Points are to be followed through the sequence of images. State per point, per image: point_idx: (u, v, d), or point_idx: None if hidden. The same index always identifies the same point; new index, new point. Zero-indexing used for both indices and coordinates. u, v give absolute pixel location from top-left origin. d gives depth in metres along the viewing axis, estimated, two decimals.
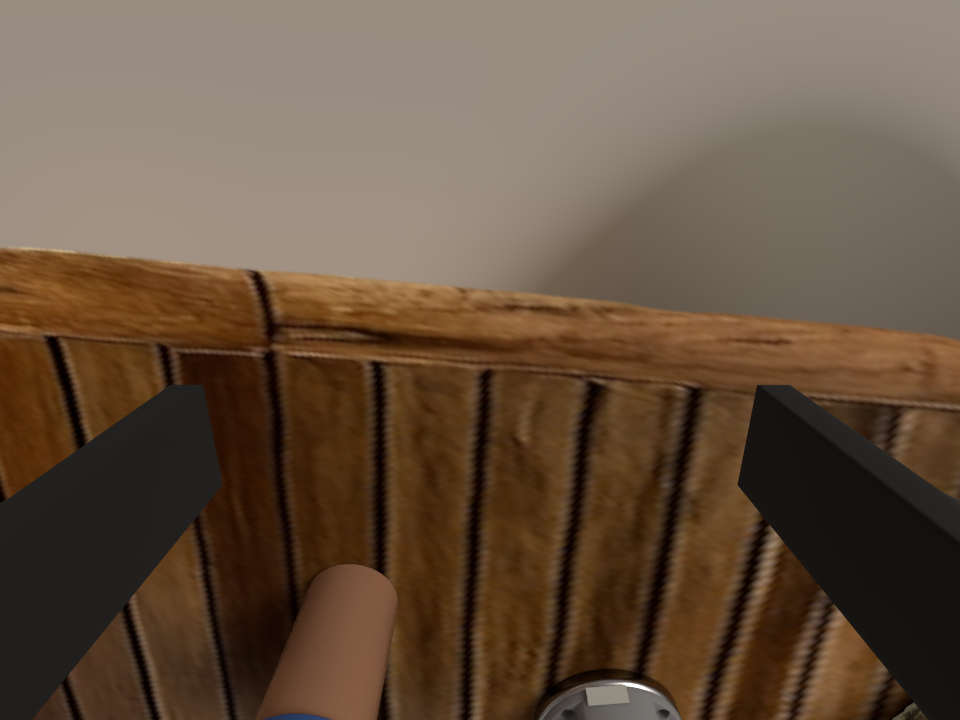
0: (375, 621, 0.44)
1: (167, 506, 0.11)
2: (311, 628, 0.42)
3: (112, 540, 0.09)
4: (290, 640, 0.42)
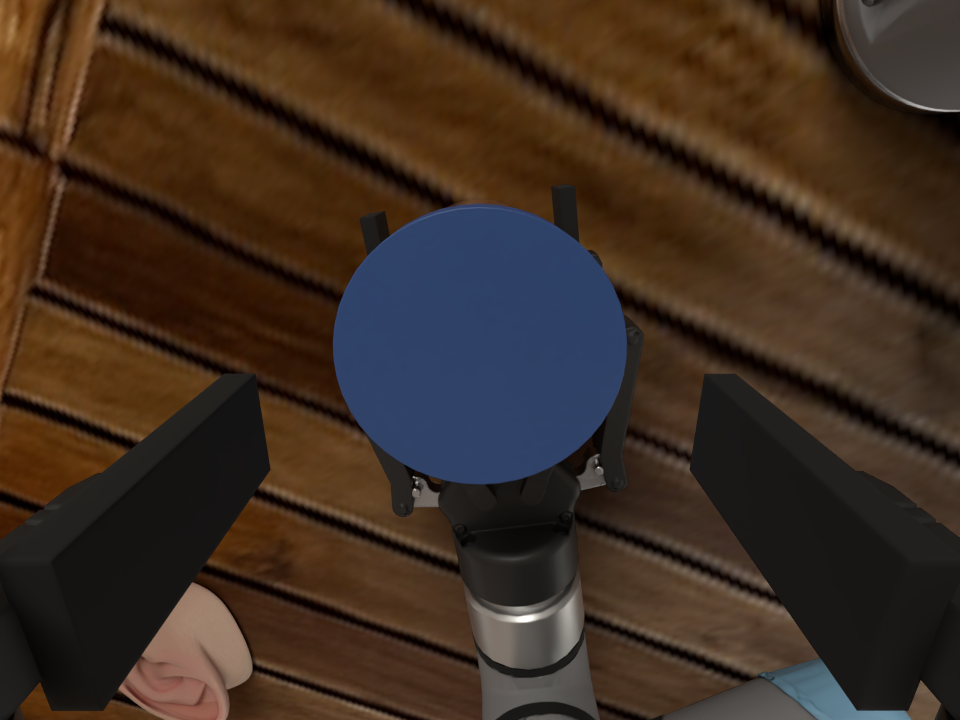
0: None
1: (228, 487, 0.11)
2: None
3: (186, 516, 0.10)
4: None
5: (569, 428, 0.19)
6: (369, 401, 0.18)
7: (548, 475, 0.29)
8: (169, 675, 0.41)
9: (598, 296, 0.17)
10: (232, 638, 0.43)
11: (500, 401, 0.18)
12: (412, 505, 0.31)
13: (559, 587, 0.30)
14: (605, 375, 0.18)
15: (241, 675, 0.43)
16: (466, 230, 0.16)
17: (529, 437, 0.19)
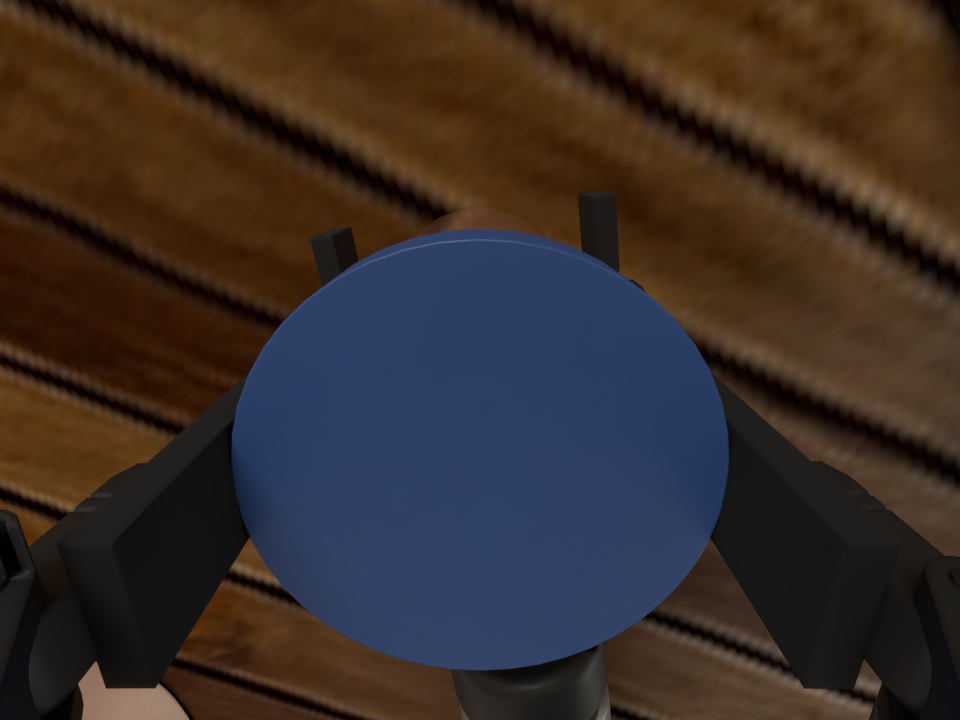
0: (448, 222, 0.20)
1: None
2: None
3: (225, 504, 0.10)
4: None
5: (625, 592, 0.11)
6: (297, 553, 0.11)
7: None
8: None
9: (685, 391, 0.10)
10: None
11: (513, 553, 0.11)
12: None
13: (584, 719, 0.23)
14: (689, 515, 0.11)
15: None
16: (456, 280, 0.09)
17: (561, 605, 0.12)
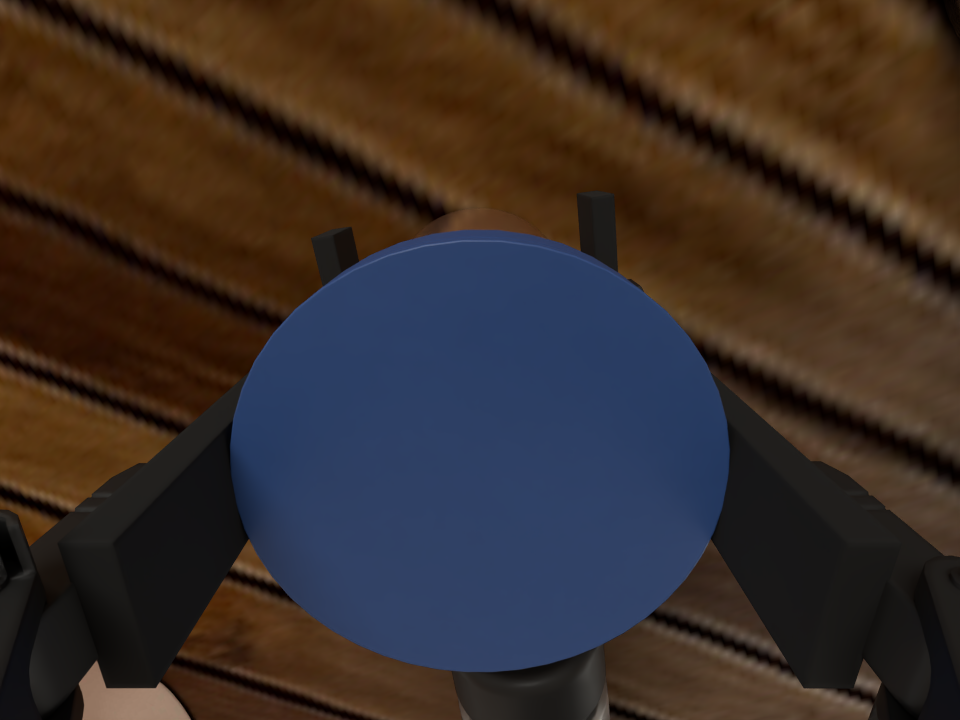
0: (448, 222, 0.20)
1: None
2: None
3: (225, 504, 0.10)
4: None
5: (669, 395, 0.10)
6: (487, 647, 0.12)
7: None
8: None
9: (436, 275, 0.09)
10: None
11: (565, 485, 0.10)
12: None
13: (583, 716, 0.23)
14: (594, 304, 0.09)
15: None
16: (265, 445, 0.10)
17: (653, 462, 0.10)
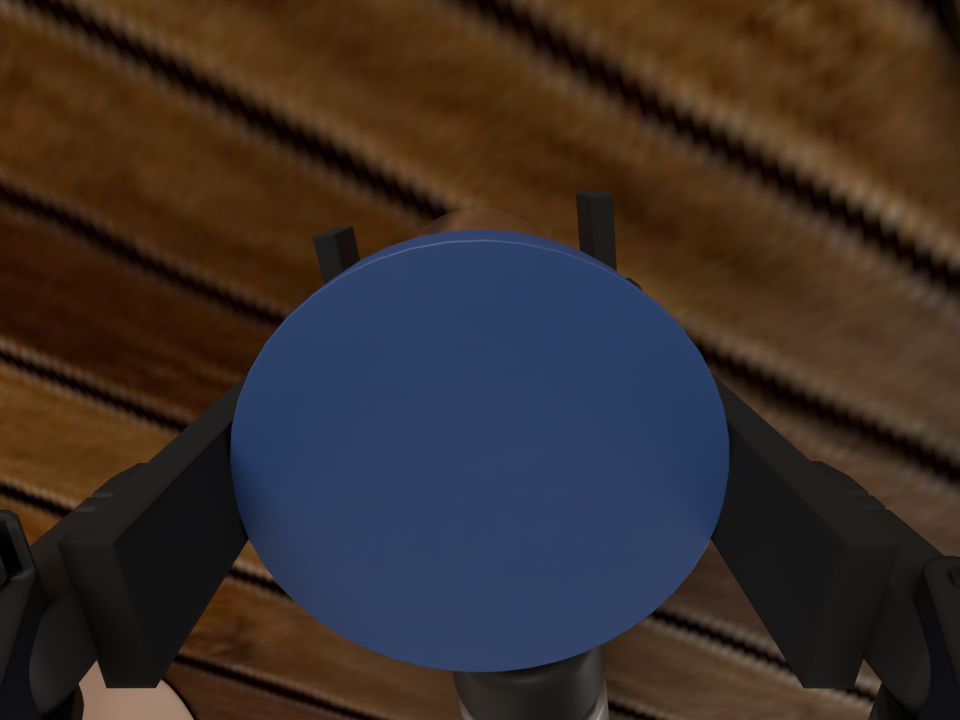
0: (449, 221, 0.20)
1: None
2: None
3: (225, 504, 0.10)
4: None
5: (434, 293, 0.09)
6: (670, 542, 0.11)
7: None
8: None
9: (257, 457, 0.10)
10: None
11: (503, 416, 0.10)
12: None
13: (582, 712, 0.23)
14: (316, 340, 0.09)
15: None
16: (373, 626, 0.12)
17: (509, 326, 0.09)
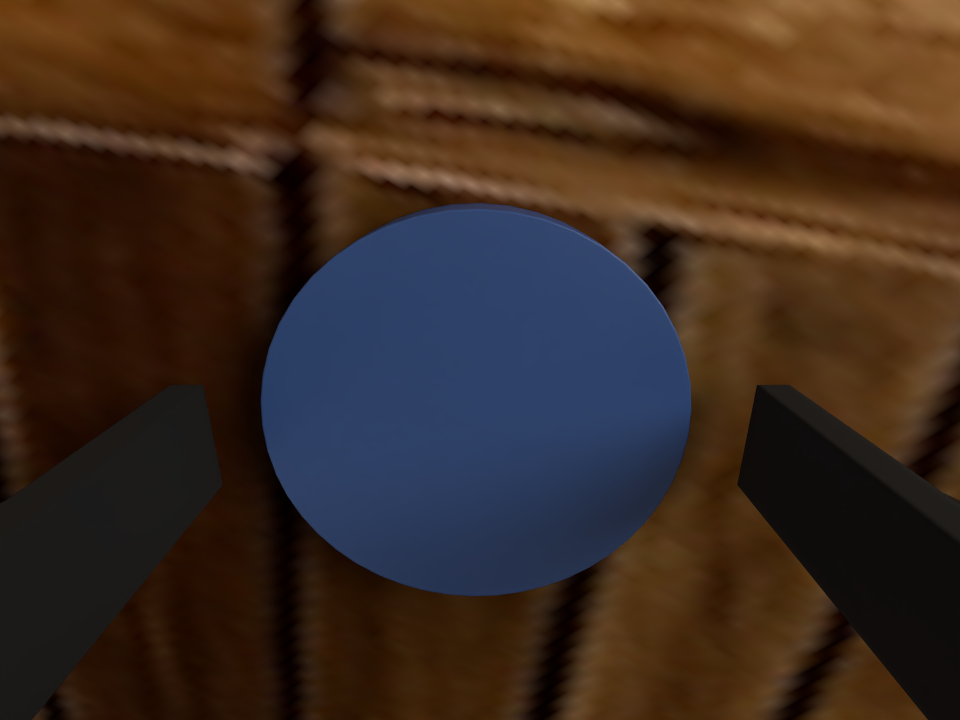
0: None
1: (167, 506, 0.11)
2: None
3: (112, 540, 0.09)
4: None
5: (437, 255, 0.11)
6: (641, 476, 0.13)
7: None
8: None
9: (284, 400, 0.12)
10: None
11: (496, 363, 0.12)
12: None
13: None
14: (336, 296, 0.11)
15: None
16: (383, 554, 0.13)
17: (500, 283, 0.11)
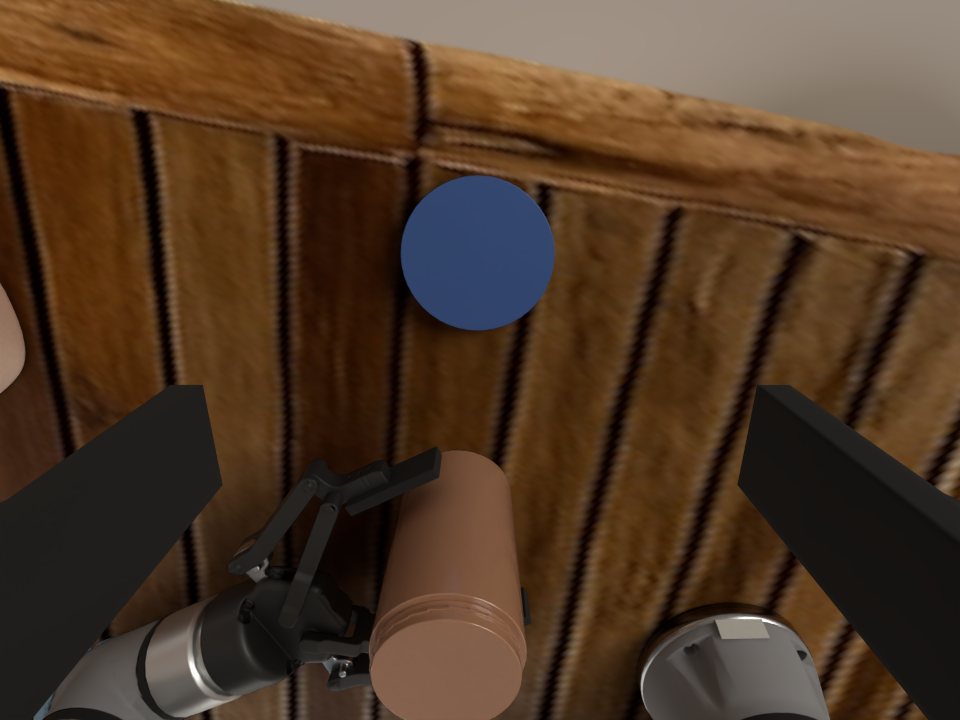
0: (505, 511, 0.37)
1: (167, 506, 0.11)
2: (437, 507, 0.34)
3: (112, 541, 0.09)
4: (408, 521, 0.34)
5: (464, 191, 0.32)
6: (538, 276, 0.34)
7: (329, 647, 0.38)
8: None
9: (409, 245, 0.34)
10: None
11: (484, 230, 0.33)
12: (244, 572, 0.36)
13: (244, 694, 0.37)
14: (430, 206, 0.33)
15: None
16: (442, 310, 0.35)
17: (485, 201, 0.33)
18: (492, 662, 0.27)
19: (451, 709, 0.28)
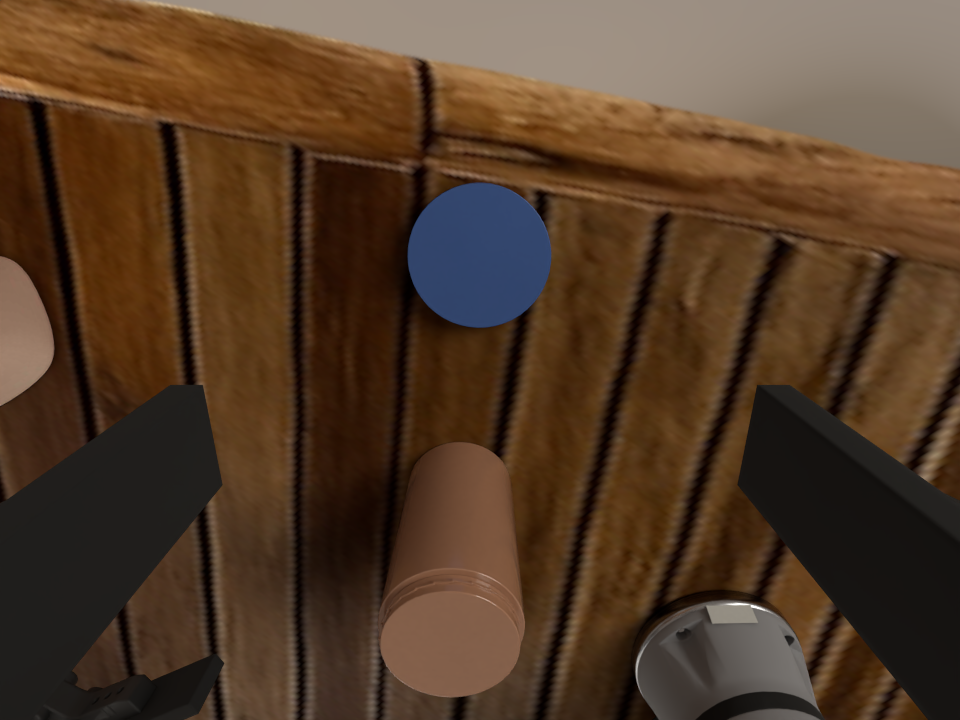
0: (505, 498, 0.39)
1: (167, 506, 0.11)
2: (441, 493, 0.36)
3: (112, 540, 0.09)
4: (414, 506, 0.37)
5: (467, 197, 0.35)
6: (536, 276, 0.37)
7: None
8: None
9: (416, 247, 0.36)
10: (9, 391, 0.41)
11: (485, 234, 0.36)
12: None
13: None
14: (435, 211, 0.35)
15: None
16: (446, 308, 0.38)
17: (487, 207, 0.35)
18: (493, 632, 0.29)
19: (454, 677, 0.30)
